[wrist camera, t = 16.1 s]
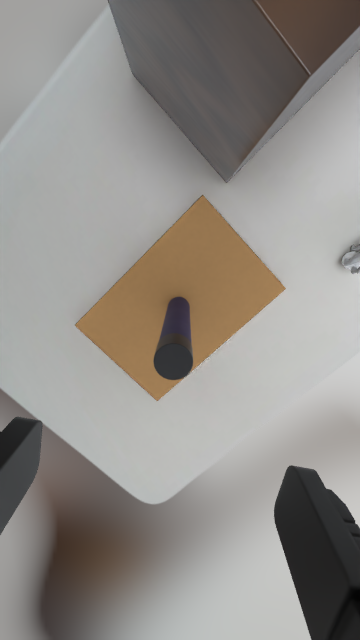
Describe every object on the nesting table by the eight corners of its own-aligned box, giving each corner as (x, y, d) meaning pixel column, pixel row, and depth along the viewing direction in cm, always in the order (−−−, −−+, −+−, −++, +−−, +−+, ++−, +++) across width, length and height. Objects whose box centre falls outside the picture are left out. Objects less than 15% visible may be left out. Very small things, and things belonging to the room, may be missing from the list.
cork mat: (75, 324, 32) (74, 325, 32) (202, 195, 29) (202, 194, 29) (157, 399, 35) (157, 401, 34) (284, 287, 31) (286, 288, 31)
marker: (165, 316, 32) (150, 377, 18) (169, 294, 31) (156, 340, 18) (187, 320, 32) (189, 383, 18) (192, 298, 31) (196, 347, 18)
